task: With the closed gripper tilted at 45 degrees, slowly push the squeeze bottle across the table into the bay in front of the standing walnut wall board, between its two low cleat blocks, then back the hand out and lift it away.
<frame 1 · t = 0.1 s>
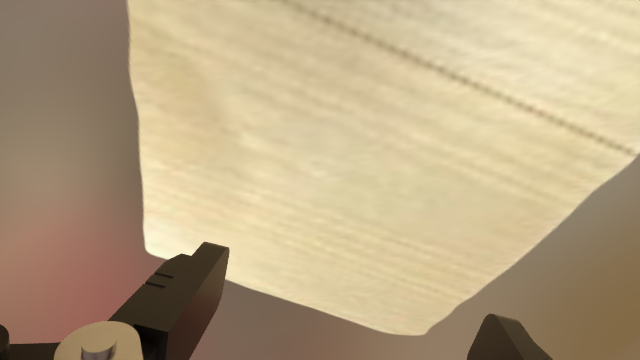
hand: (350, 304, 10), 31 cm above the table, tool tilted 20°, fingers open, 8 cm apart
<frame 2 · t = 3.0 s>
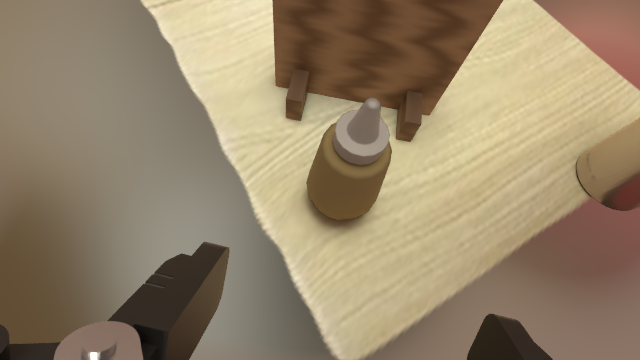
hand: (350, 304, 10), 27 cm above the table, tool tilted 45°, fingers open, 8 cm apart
walnut wall board: (353, 95, 48), on the table
squeeze bottle: (337, 198, 41), on the table
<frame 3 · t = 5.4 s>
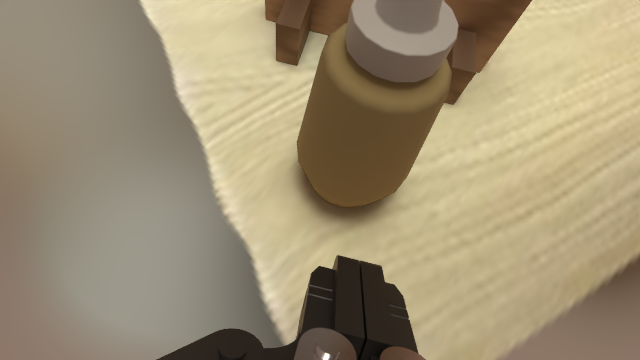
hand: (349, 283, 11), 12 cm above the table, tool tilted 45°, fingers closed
walnut wall board: (374, 39, 34), on the table
squeeze bottle: (344, 175, 27), on the table
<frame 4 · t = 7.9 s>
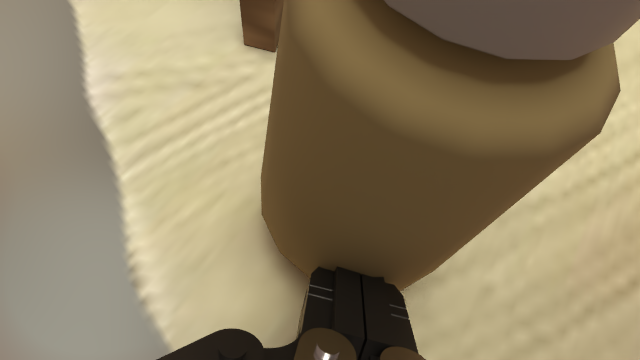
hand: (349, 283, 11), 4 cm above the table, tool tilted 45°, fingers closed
walnut wall board: (386, 17, 24), on the table
squeeze bottle: (343, 222, 17), on the table, touching gripper
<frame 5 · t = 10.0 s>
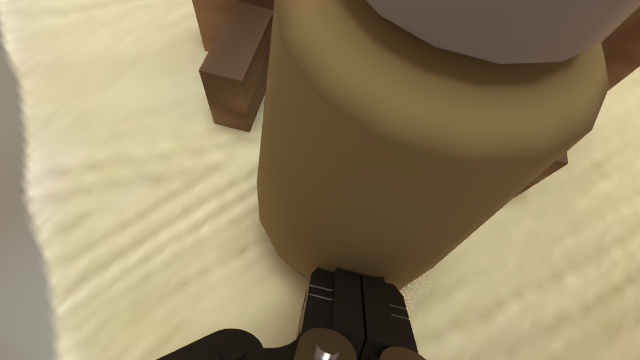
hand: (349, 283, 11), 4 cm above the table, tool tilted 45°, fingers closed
walnut wall board: (378, 81, 21), on the table
squeeze bottle: (341, 222, 17), on the table, touching gripper
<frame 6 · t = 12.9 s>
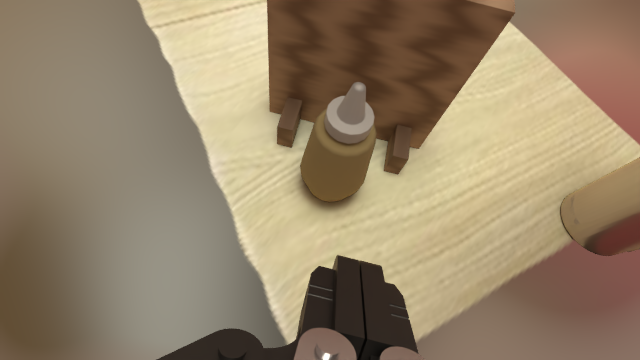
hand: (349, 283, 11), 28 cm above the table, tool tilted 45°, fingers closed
walnut wall board: (345, 124, 49), on the table
squeeze bottle: (328, 182, 44), on the table
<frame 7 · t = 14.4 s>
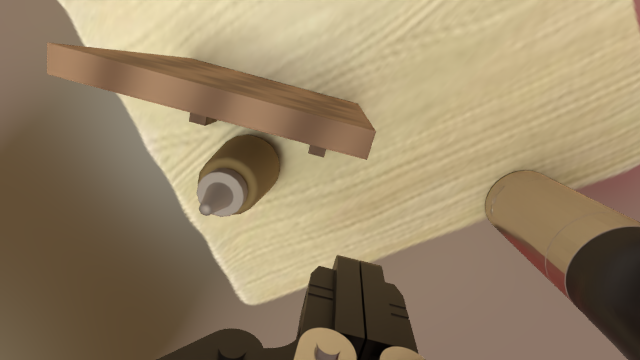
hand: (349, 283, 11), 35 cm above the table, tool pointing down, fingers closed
walnut wall board: (273, 89, 43), on the table
squeeze bottle: (255, 159, 46), on the table
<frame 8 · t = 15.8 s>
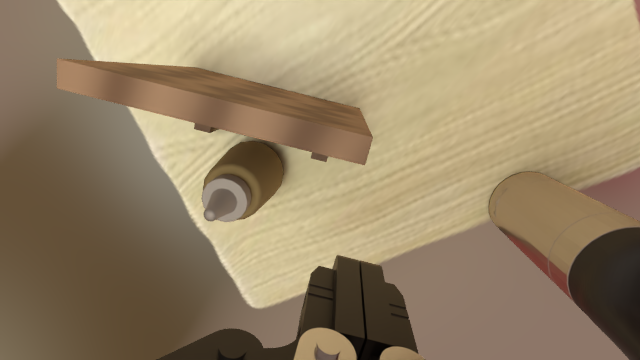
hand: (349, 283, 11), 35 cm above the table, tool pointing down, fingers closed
walnut wall board: (275, 95, 44), on the table
squeeze bottle: (259, 164, 47), on the table
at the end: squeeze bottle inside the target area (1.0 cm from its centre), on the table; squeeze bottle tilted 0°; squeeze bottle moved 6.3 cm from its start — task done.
